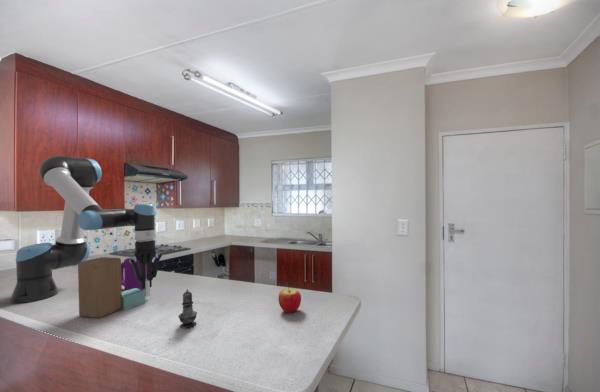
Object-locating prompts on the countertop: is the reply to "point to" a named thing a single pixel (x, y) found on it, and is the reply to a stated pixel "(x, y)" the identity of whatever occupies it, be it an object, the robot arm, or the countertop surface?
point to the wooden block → (99, 286)
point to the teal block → (132, 298)
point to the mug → (129, 275)
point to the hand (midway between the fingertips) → (146, 295)
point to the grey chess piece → (187, 312)
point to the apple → (289, 299)
